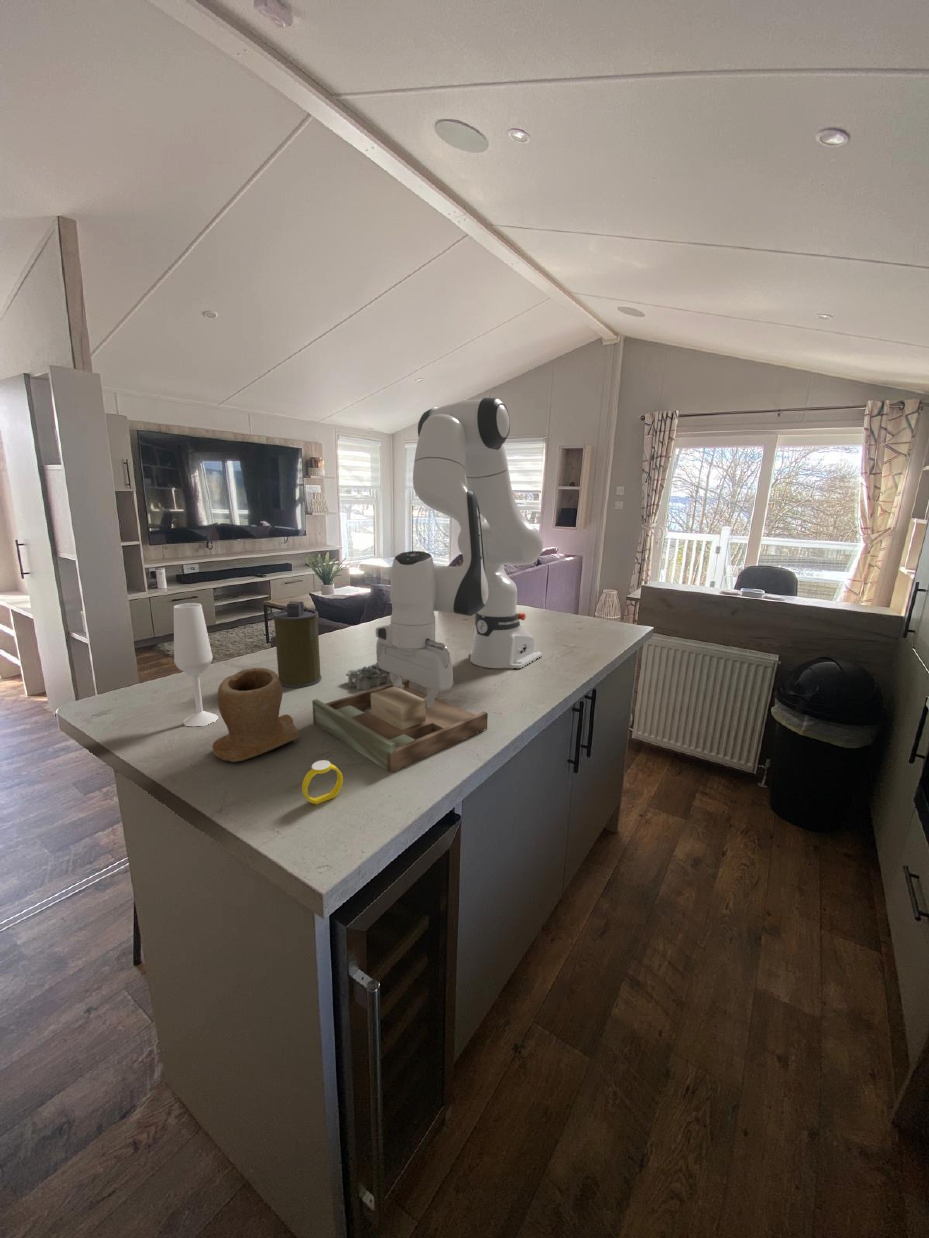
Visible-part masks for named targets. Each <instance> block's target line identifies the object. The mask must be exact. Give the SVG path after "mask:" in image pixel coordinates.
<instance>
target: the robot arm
mask: <svg viewBox="0 0 929 1238" xmlns="http://www.w3.org/2000/svg"><path fill="white" fill-rule="evenodd" d="M417 423H418V424H417V436H418V440H417V443H416V448H415V454H414V461H413V472H412V485H413V489H414V493H415V494H416V496H417V497H418V498H419V500H420V501H421V502H422V503H423V504H425V505H426V506H427V507H429V508H431V509H432V510H435V511H436V512H439V513H441V514H444V515H446V516H448V517H450V518H452V519H454V520H455V521H456V522H457V523H458V525H459V527H460V532H459V533H458V537H457V546H458V550H459V552H460V554H461V555H462V560H463V561H462V564H461V565H459V566H451V565H450V566H449V565H436V564H434V560H433V556H432V555H431V554H430V553H428V552H426V551H421V550H411V551H405V552H400V553H399V554H397V555H396V556H394V558H393V561H392V565H391V573H390V583H389V584H390V591H389V592H390V593H389V594H390V604H391V606H392V611H391V615H390V624H386V625H381V626H378V627H376V628H375V636H376V638H377V640H376V647H375V648H376V663H378V666H379V668H380V669H382V670H385V671H387V672H390V679H391V684H392V683H393V685H394V686H395V687H397V688H400V689H402V690H404V685H403V684H402V682H401V681H402V679H401V678H403V680H409V682H411V683H414V684H417V685H419V686H422V687H424V688H425V692H426V694H427V697H425V698H423V699H425V700H426V707H427V708H431V707H433V706H434V698H437V695H438V693H441V692H445V691H447V690H450V689H451V688H452V686H453V685H454V673H453V671H454V670H453V663H452V662H453V661H452V658H451V653H450V651H449V649H448V647H447V646H446V645H445V643H442V642H438V641H436V615H435V612H442V613H453V614H457V615H461V616H462V615H463V616H467V617H468V616H469V617H471V616H474V615H475V616H474V625H475V629H474V631H473V639H472V648H471V650H470V652H469V656H470V657H469V660H470V662H471V663H472V664H473V665H476V666H478V667H483V668H490V669H513V668H517V669H518V668H521V669H522V667H523V668H524V667H526V666H528V665H529V663H530V664H532V663H533V662H536V661H537V660H538V659H540V658H542V657H543V654H542V652H541V651H539V650H538V649H535V639H534V637H533V635H532V634H531V633H530V632H528V631H527V630H526V629H525V628H523V627H522V626H521V623H520V620H521V621H525V620H526V618H527V614H526V613H522V612H518V613H517V604H518V603H517V601H518V587H517V585H516V583H515V582H514V580H512V579H511V578H510V577H509V576H508V574H507V573H506V571H505V567H504V565H505V566H514V567H515V566H516V567H517V566H518V567H520V566H527V565H532V564H535V563H536V562H537V561H538V559H539V558H540V556H541V554H542V552H543V548H544V541H543V537H542V534H541V533H540V531H539V529H537V528H535V527H534V526H533V525H532V524H531V523H530V522H529V521H527V519H526V518H525V516H524V515H523V514H522V512H521V510H520V508H519V506H518V505H517V501H516V500H515V497H514V493H513V489H512V483H511V477H510V472H509V465H508V459H507V455H506V451H505V447H504V444H505V442H506V440H507V439H508V436H509V435H510V430H511V429H510V428H511V419H510V415H509V411H508V408H507V406H506V405H505V404H504V402H502V400H500V399H499V398H496V397H495V398H494V397H484V398H482V399H480V398H479V399H468V400H467V399H466V400H459V401H457V402H454V403H451V404H446V405H444V406H439V407H436V406H435V407H432V408H430V409H428V410H425V411H424V412H423V413H422V415H421V417H420V418H419V420H418V422H417ZM481 516H482V517H483V518H484V519H485V520H486V521H481ZM541 656H542V657H541ZM539 657H540V658H539ZM537 658H538V659H537ZM536 659H537V660H536ZM532 661H533V662H532ZM527 664H528V665H527ZM525 665H526V666H525ZM517 669H516V670H517ZM518 670H519V669H518Z"/></svg>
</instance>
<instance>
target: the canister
mask: <svg viewBox="0 0 929 1238" xmlns="http://www.w3.org/2000/svg"><path fill="white" fill-rule="evenodd" d="M318 614H319V612H318V611H317V610H316V609H311V608H308V607H307V606H305V603H304V601H296V600H295V601H293V600H292V601H289V602H288V603H287V604H286V609H283V610H279V611H276V612H274V613H273V614H272V616H273V620H274V621H273V622H274V635H275V646H276V649H275V650H276V660H277V673H278V674H277V675H278V677H279V680H280V682H281V686H282V687H285V688H292V689H293V688H294V689H295V688H296V689H297V688H305V687H309V686H313V685H316V684H317V683H319V682H320V681H321V680H322V675H321V662H320V661H321V660H320V659H321V658H320V643H319V642H320V641H319V638H320V637H319V623H318V621H319V619H318Z"/></svg>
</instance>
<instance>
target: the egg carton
mask: <svg viewBox="0 0 929 1238" xmlns="http://www.w3.org/2000/svg"><path fill="white" fill-rule="evenodd" d="M345 677H348V678H347V679H348V683H347V684H348V686H349V687H356V690H358V691H360V690H363V691H365V690H367V691H368V690H369V689H370V687H378V686H379V687H380V686H381V684H382V683H387V684H388V683H389V684H390V683H392V681H391V679H390V672H387V671H385V670H382V669H380V668H379V666H378V663H377V662H375V663H373V664H371V665H368V666H366V665H365V666H363V667H361V668H357V669H355V670H354V669H350V670H348V671H347V672H346V674H345Z"/></svg>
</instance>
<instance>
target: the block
mask: <svg viewBox="0 0 929 1238" xmlns="http://www.w3.org/2000/svg"><path fill="white" fill-rule="evenodd" d="M370 711H371V714H372V715H373V716H375V717H377V718H379V719H381V720H383V721H385V722H387V723H389V724H391V725H393V726H394V727H396V728H398V729H400V730H404V729H406V728H409V727H412V726H414V725H417V724H419V723H422V722H424V721H426V700H425V699H423V698H420V697H418V696H416V695H413V694H411V693H409V692H406V691H404V690H402V689H400V688H397V687H395V686H394V687H390V688H387V689H384V690H381V691H377V692H374V693H371V707H370Z"/></svg>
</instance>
